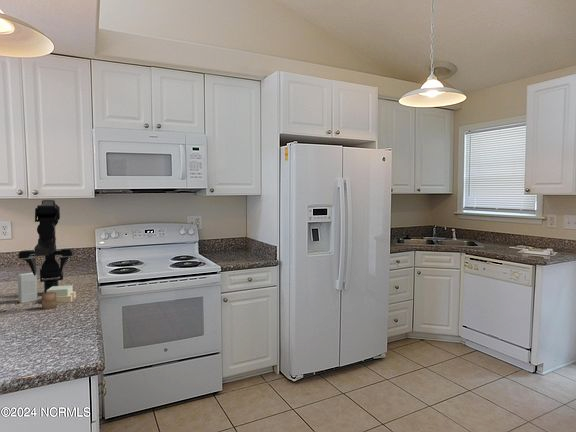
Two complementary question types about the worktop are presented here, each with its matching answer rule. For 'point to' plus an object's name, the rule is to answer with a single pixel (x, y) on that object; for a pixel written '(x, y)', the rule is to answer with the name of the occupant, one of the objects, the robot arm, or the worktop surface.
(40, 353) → the worktop surface
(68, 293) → the sage block
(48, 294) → the brown rounded cylinder
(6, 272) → the worktop surface
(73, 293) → the maple block
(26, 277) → the skincare box
